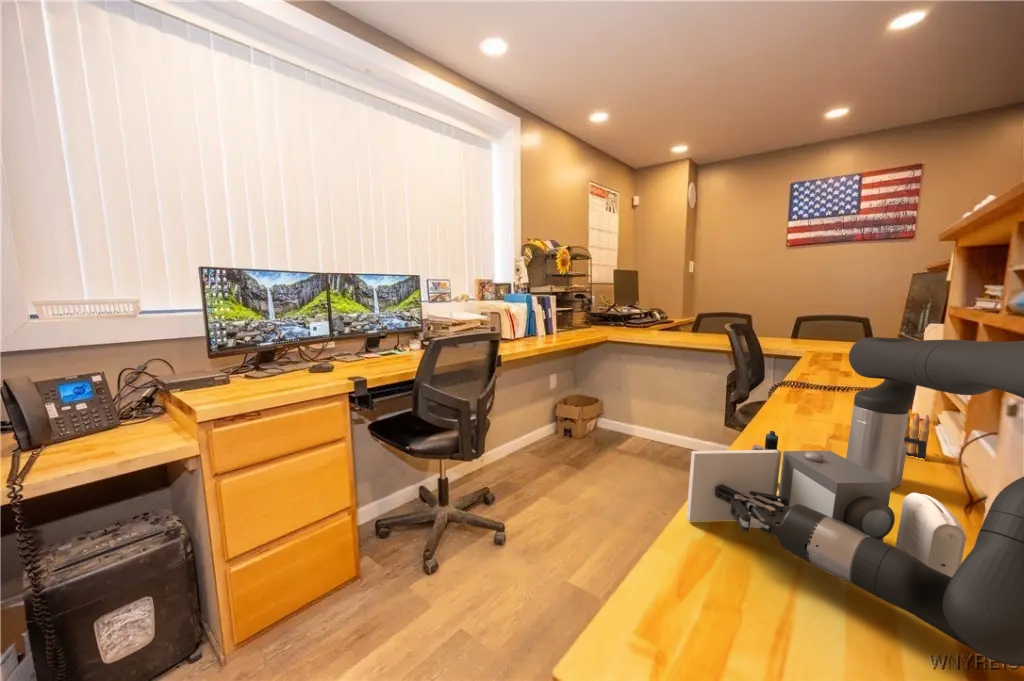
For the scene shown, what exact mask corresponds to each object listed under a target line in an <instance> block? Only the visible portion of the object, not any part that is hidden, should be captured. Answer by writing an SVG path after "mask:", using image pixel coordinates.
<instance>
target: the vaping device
mask: <svg viewBox="0 0 1024 681" xmlns="http://www.w3.org/2000/svg"><path fill="white" fill-rule="evenodd" d="M778 443H779V435H776V431H774V430H769V433H766V434H765V441H764V447H763V446H761V445H757V444H755V445H753V446H752V449H751V450H778V445H779V444H778Z"/></svg>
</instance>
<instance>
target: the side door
mask: <svg viewBox="0 0 1024 681" xmlns="http://www.w3.org/2000/svg"><path fill="white" fill-rule="evenodd" d="M690 456H691V457H690V468H689V480H688V494H687V504H686V505H687V506H686V509H687V510H686V519H687V521H689V522H720V521H721V522H724V521H726V522H727V521H728V522H729V521H731V522H732V521H736V520H735V519H734V517H733V516H732V514H731V513H730V509H731V504H729V503H727V502H725V501H723V500H721V499H719V498H717V497H716V496H715V488H716V486H718V485H721V484H723V485H725V486H727V487H729V488H731V489H734V490H736V491H738V492H745V493H748V494H750V491H755V492H760V493H766V494H771V495H777V493H778V485H779V475H780V467H781V460H782V459H781V458H782V451H781V450H779V449H777V450H764V449H763V450H752V449H746V450H745V449H740V450H736V449H735V450H731V449H729V450H728V449H727V450H726V449H725V450H724V449H723V450H691V455H690ZM777 496H778V495H777Z"/></svg>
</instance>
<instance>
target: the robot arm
mask: <svg viewBox="0 0 1024 681" xmlns="http://www.w3.org/2000/svg"><path fill="white" fill-rule="evenodd" d="M848 361H849V364H850V367H851V369H852V370H854V372H855V373H856V374H858V375H859V376H861V377H863V378H868V379H876V380H879V379H881V380H883V381H882V383H880V384H878V385H876V386H874V387H871V388H867V389H863V390H860V391H857V392H856V393H855V395H854V399H853V405H852V412H851V419H850V427H849V428H850V429H849V435H848V440H847V441H848V442H847V447H846V448H847V449H846V455H845V456H846V457H845V458H846V459H848V460H850V461H851V462H853V463H855V464H857V465H859V466H861V467H863V468H865V469H867V470H869V471H871V472H873V473H875V474H877V475H879V476H881V477H883V478H885V479H887V480H889V481H891V482H892V487H891V490H892V489H895V488H897V487H898V486H902V481H903V476H904V469H905V464H906V458H907V457H906V452H907V447H908V444H907V445H906V444H904V437H905V431H906V424H907V418H908V412H909V413H910V407H911V405H912V404H913V402H914V399H915V397H916V396H915V394H916V390H917V387H918V386H919V387H921V388H926V389H929V390H934V391H938V392H943V393H948V394H952V395H959V396H976V395H982V394H984V393H988V392H990V391H992V390H998V391H1003V392H1005V393H1009V394H1011V395H1015V396H1017V397H1020V398H1021V399H1023V400H1024V340H1018V341H1016V340H1015V341H989V340H982V341H981V340H967V339H966V340H965V339H927V340H924V339H921V340H914V339H911V338H905V337H902V338H901V337H882V336H869V337H864V338H860V339H858V340H857V341H856V342H855V343H854V344H853V345H852V346H851V348H850V350H849V353H848ZM715 496H716V497H717V498H719V499H721V500H723V501H725V502H727V503H729V504H731V509H730V513H731V514H732V516H733V517H734V519H735V520H734V521H735V522H736V524H737V525H738V527H739V528H740V529H741V531H744V532H747V533H749V532H750V528H755V529H759V530H760V531H761V532H763V533H765V534H768V535H770V536H771V535H772V536H773V537H775V538H777V540H778V541H779V543H780V546H781V547H782V548H783V549H784V550H785V551H787V552H789V553H790V554H793V555H794V556H796V557H798V558H801V559H802V560H803V561H806V562H807V563H809V564H811V565H813V566H815V567H817V568H819V569H820V570H822V571H824V572H826V573H828V574H829V575H832V576H833V577H835V578H838V579H840V580H843V581H844V582H845V581H846V582H847V583H850V584H852V585H853V586H856V587H857V588H859V589H861V590H863V591H865V592H867V593H868V594H871V595H872V596H875V597H876V598H878V599H880V600H882V601H884V602H886V603H888V604H891V605H893V606H895V607H897V608H900V609H901V610H903V611H906V612H908V613H909V614H911V615H913V616H915V617H916V618H918V619H919V620H921V621H923V622H924V623H926V624H928V625H929V626H931V627H932V628H935V629H936V630H938V631H940V632H941V633H943V634H944V635H946V636H949V637H950V638H951V639H953V640H955V641H957V642H958V643H961V644H962V645H964V646H965V647H967V648H969V649H970V650H972V651H974V652H976V653H978V654H980V655H981V656H984V657H985V658H987V659H989V660H992V661H994V662H996V663H999V664H1003V665H1007V666H1010V667H1011V666H1013V667H1024V475H1022V477H1020V478H1019V477H1018V479H1016V480H1014V481H1012V482H1011V483H1009V484H1008V485H1006V486H1005V487H1004V488H1003V489H1002V490H1000V491H999V493H998V494H997V495H996V496H995V498H994V499H993V500H992V503H991V505H990V507H989V509H988V512H987V514H986V516H985V518H984V519H983V520H984V521H982V522H983V523H982V525H981V527H980V529H979V531H978V533H977V536H976V540H975V543H974V546H973V548H972V550H970V552H969V553H968V554H967V555H966V556H965V558H964V559H963V560H962V563H961V565H960V567H959V568H958V569H957V571H956V572H955V574H954V575H953V577H950V576H948V575H946V574H943V573H941V572H939V571H936V570H934V569H932V568H930V567H928V566H927V565H925V564H924V563H923V562H921V561H920V560H918V559H917V558H915V557H914V556H912V555H910V554H908V553H906V552H904V551H902V550H900V549H898V548H896V547H895V546H892V545H891V544H888V543H886V542H884V541H883V542H882V541H880V540H877V539H875V538H873V537H870V536H869V535H866V534H865V533H863V532H861V531H859V530H858V529H856V528H854V527H852V526H850V525H848V524H845V523H843V522H841V521H838V520H836V519H834V518H832V517H829V516H827V515H825V514H822V513H820V512H818V511H816V510H813V509H811V508H809V507H806V506H804V505H801V504H796V505H794V506H792V507H789V498H787V497H782V496H779V495H771V494H766V493H760V492H755V491H750V494H748V493H745V492H738V491H736V490H734V489H731V488H729V487H727V486H725V485H723V484H721V485H718V486H716V488H715Z"/></svg>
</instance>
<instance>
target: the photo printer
mask: <svg viewBox="0 0 1024 681" xmlns="http://www.w3.org/2000/svg"><path fill="white" fill-rule="evenodd" d="M901 506H902V507H901V513H900V517H899V518H900V519H899V525H898V530H897V535H896V541H895V546H894V547H896V548H898V549H900V550H902V551H904V552H906V553H908V554H910V555H912V556H914V557H915V558H917V559H918V560H920V561H921V562H923V563H924V564H925V565H927V566H928V567H930V568H932V569H934V570H936V571H939V572H941V573H943V574H946V575H948V576H950V577H953V575H954V574H955V572H956V571H957V569H958V568H959V567H960V565H961V564H962V562H963V557H964V552H965V547H966V542H967V535H966V532H965V530H964V528H963V526H962V524H961V522H960V521H959V520H958V518H957V517H956V516H955V515H954V513H953V512H952V511H951V510H950V509H949V508H948V507H947V506H945V505H944V504H943V503H942V502H940V500H938V499H936V498H935V497H932V496H930V495H927V494H925V493H924V494H923V493H919V492H911V493H909V494H908V495H906V496H905V497H904V498H903V500H902V505H901Z"/></svg>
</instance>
